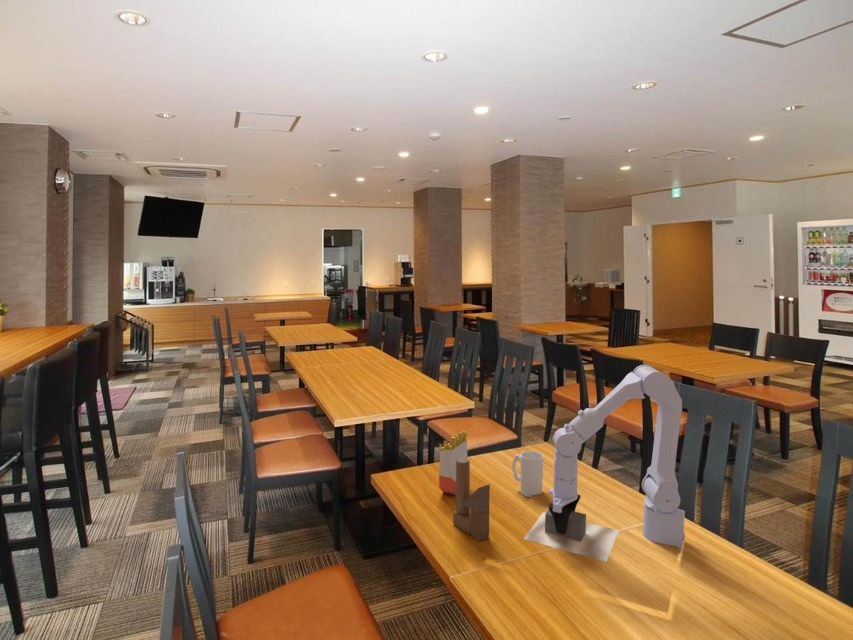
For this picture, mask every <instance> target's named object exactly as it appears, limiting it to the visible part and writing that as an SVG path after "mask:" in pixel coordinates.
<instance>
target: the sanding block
mask: <svg viewBox="0 0 853 640" xmlns="http://www.w3.org/2000/svg"><path fill="white" fill-rule="evenodd" d="M545 513H546V514H545V533H548V534H551V535H555V536H559V537H563V538H567V539H570V540H574V541H578V542H581V541H582V539H583V537H584V535H585V533H586V523H587V513H582V512H578V511H575V512H574V511H572V512H571V514H570V516H569V520H568V525H567V530H566V533H565V534H560V533H557V531H556V528H555V523H554V519H553V516H552V514H551V512H550V511H549V509H548V510H547V511H546V512H545Z"/></svg>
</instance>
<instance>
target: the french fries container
mask: <svg viewBox="0 0 853 640" xmlns="http://www.w3.org/2000/svg"><path fill="white" fill-rule="evenodd" d="M457 433H458V435H456V434H455V435H453V436H450V442H449V441H448V440H443V446H441V449H440V451H441V452H439V471H438V473H439V474H438V477H439V478H438V482H439V483H438V488H439V489H440V490H441V491H442V493H444V492H445V494H448V493H449V495H452V494H453V496H456V460H457V459H460V458H465V459H468V439H467V431H465V430H463V431H460V432H457Z"/></svg>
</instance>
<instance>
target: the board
mask: <svg viewBox="0 0 853 640" xmlns="http://www.w3.org/2000/svg"><path fill="white" fill-rule="evenodd" d="M546 513H547V512H544V511H543V512H542V513H541V514H540V516H539V517H538V518H537V520H536V521H535V523H534V524H533V525H532V527H531V528H530V529H529V531H528V532H527V533H526V535H525V536H524V538H523V540H525V541H528V542H532V543H536V544H540V545H543V546H547V547H550V548H553V549H557V550H561V551H566V552H569V553H573V554H576V555H580V556H582V557H586V558H591V559H594V560H597V561H598V560H599V561H601V562H606V563H607V562H608V560H609V557H610V554H611V552H612V550H613V547H614V544H615V542H616V540H617V537H618V535H619V533H620V529H619V530H618V529H614V528H610V527H607V526H602V525H598V524H593V523H590V522H586V533H585V535H584V537H583V539H582V541H581V542H578V541H574V540H570V539H567V538H563V537H559V536H555V535H551V534H548V533H545V514H546Z"/></svg>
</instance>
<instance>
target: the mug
mask: <svg viewBox="0 0 853 640" xmlns="http://www.w3.org/2000/svg"><path fill="white" fill-rule="evenodd" d="M518 461H520V463H519V464H520V467H519V469H520V474H519V473H518V470H517V463H518ZM543 470H544V455H543V454H542V453H541V452H538V451H535V450H534V451H532V450H528V451H522V452H520V454H518V453H516V454H514V458H513V460H512V471H513V475H514V479H515V481H519V482H520V494H521V495H522V496H523V495H524V496H523V497H526V498H532V497H533V496H536V495H541V493H542V492H543V479H544V478H543V475H544V474H543V473H544V471H543Z"/></svg>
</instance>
